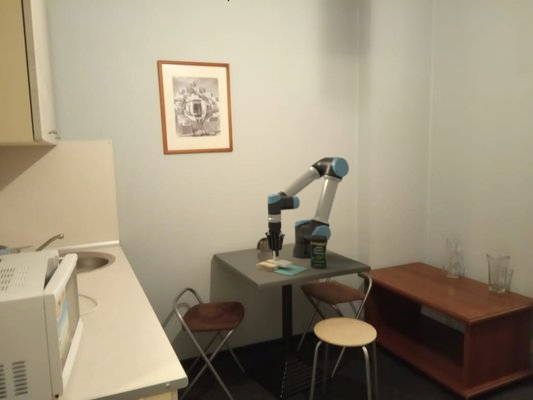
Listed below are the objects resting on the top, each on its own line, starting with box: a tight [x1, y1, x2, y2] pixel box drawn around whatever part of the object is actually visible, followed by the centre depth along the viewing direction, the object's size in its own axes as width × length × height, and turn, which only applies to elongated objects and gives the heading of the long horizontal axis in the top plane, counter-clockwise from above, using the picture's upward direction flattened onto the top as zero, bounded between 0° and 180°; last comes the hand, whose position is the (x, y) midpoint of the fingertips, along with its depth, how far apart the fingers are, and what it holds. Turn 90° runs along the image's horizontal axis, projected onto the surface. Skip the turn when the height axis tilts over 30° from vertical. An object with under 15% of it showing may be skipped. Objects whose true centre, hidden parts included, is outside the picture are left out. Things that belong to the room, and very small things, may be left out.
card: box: [273, 259, 293, 268], centre depth 228 cm, size 6×9×2 cm, turn 49°
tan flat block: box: [255, 258, 290, 273], centre depth 233 cm, size 16×12×2 cm
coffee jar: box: [310, 235, 329, 269], centre depth 230 cm, size 10×8×19 cm
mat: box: [272, 264, 309, 277], centre depth 225 cm, size 16×13×1 cm
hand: (275, 261), depth 232 cm, fingers closed
